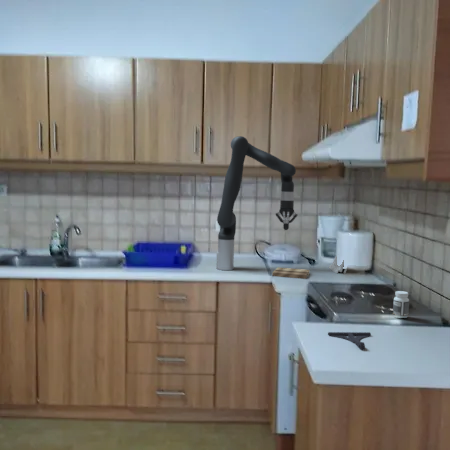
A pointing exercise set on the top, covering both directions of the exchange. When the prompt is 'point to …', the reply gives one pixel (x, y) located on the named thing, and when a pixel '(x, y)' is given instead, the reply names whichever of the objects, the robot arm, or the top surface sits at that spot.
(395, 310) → the pill bottle
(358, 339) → the bracket
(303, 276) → the walnut plank
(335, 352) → the top surface
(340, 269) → the white crumpled paper
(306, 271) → the oak plank
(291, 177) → the robot arm
